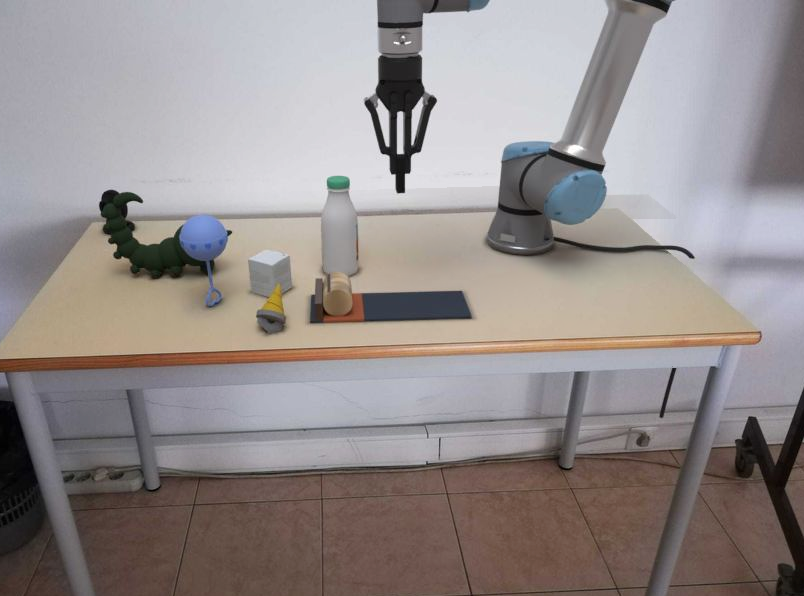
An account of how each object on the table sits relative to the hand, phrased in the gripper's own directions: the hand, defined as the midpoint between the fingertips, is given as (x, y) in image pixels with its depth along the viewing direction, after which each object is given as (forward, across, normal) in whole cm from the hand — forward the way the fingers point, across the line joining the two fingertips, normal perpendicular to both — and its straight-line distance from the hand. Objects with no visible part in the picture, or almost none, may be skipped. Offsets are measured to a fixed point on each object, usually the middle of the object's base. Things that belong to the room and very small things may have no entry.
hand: (400, 190), depth 127 cm
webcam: (+20, -65, +40) cm, 79 cm away
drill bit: (+20, -25, -13) cm, 35 cm away
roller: (+17, -13, -7) cm, 22 cm away
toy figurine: (+20, -47, +13) cm, 52 cm away
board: (+20, -3, -7) cm, 22 cm away
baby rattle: (+20, -37, -4) cm, 42 cm away
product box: (+20, -26, +2) cm, 33 cm away
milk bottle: (+21, -12, +11) cm, 26 cm away
